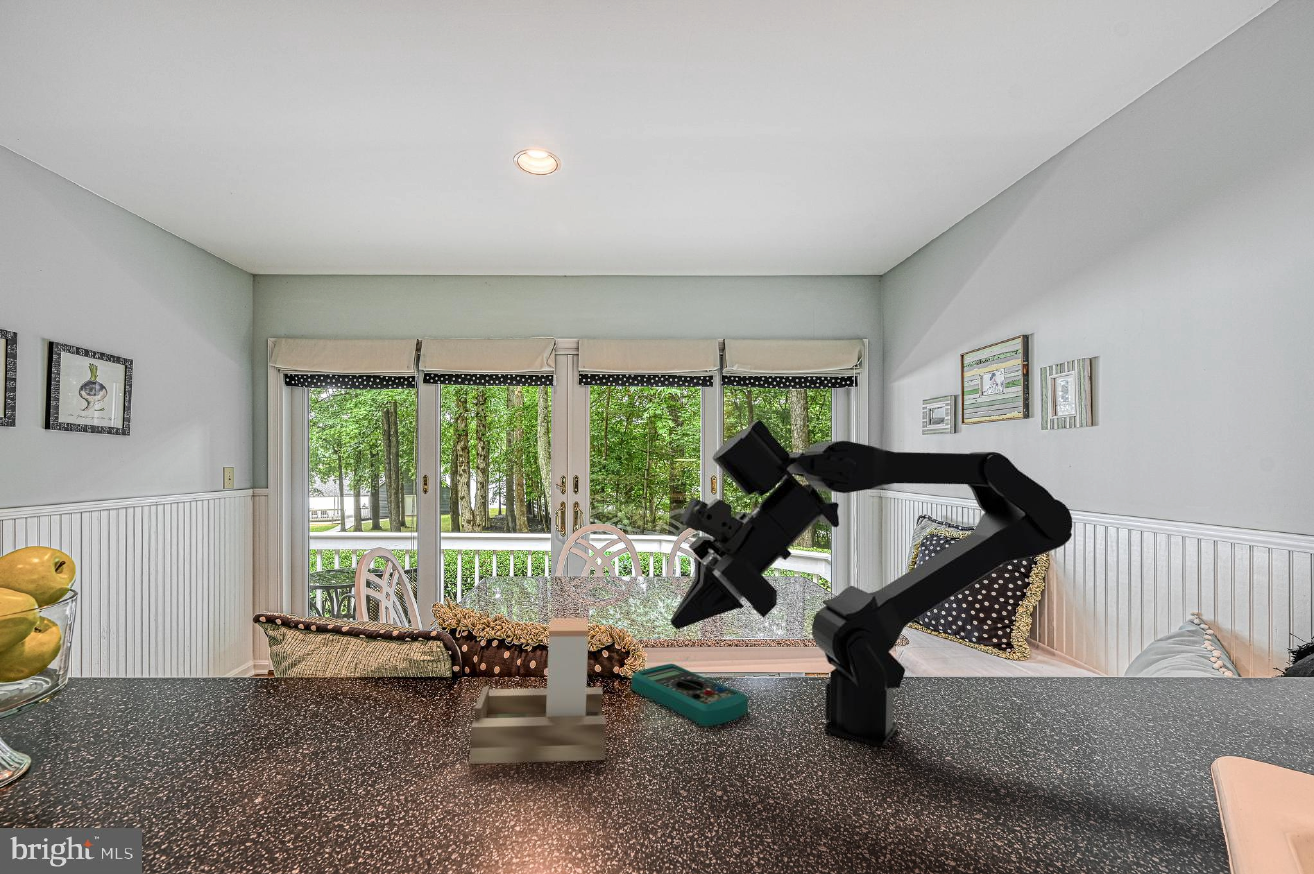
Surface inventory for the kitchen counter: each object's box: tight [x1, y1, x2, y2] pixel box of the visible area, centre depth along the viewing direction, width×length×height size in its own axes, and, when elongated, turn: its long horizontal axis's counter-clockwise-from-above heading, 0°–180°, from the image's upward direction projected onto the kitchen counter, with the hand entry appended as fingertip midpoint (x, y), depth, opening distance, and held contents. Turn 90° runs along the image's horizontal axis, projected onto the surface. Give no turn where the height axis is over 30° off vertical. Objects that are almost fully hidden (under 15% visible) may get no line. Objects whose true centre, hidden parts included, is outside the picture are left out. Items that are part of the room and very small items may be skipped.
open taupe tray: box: [469, 686, 607, 765], centre depth 67 cm, size 13×10×4 cm
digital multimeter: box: [630, 663, 749, 728], centre depth 78 cm, size 7×15×3 cm, turn 39°
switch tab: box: [546, 617, 589, 717], centre depth 67 cm, size 4×5×10 cm
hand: (673, 625), depth 69 cm, fingers closed
